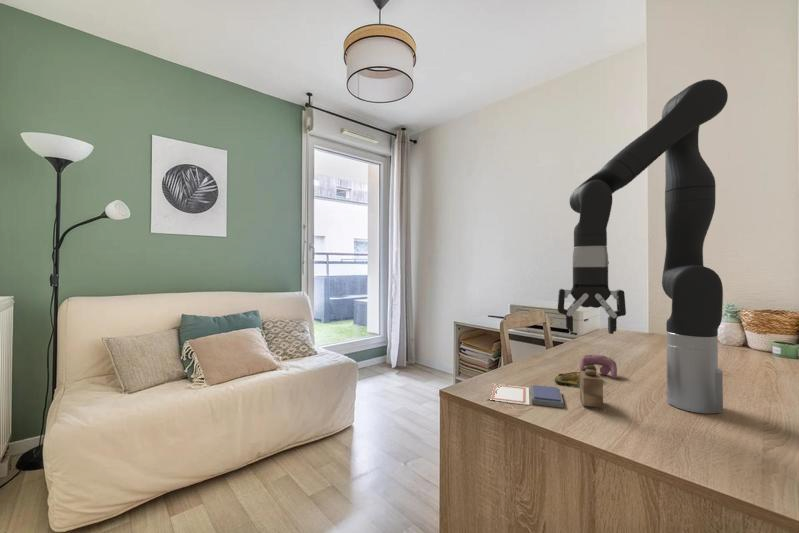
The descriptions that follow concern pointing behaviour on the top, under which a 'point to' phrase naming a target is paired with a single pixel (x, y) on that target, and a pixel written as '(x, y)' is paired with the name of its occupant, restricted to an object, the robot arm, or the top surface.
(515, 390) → the paper sheet
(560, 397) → the ink pad
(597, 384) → the stamp
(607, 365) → the video game controller
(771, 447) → the top surface
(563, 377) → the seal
